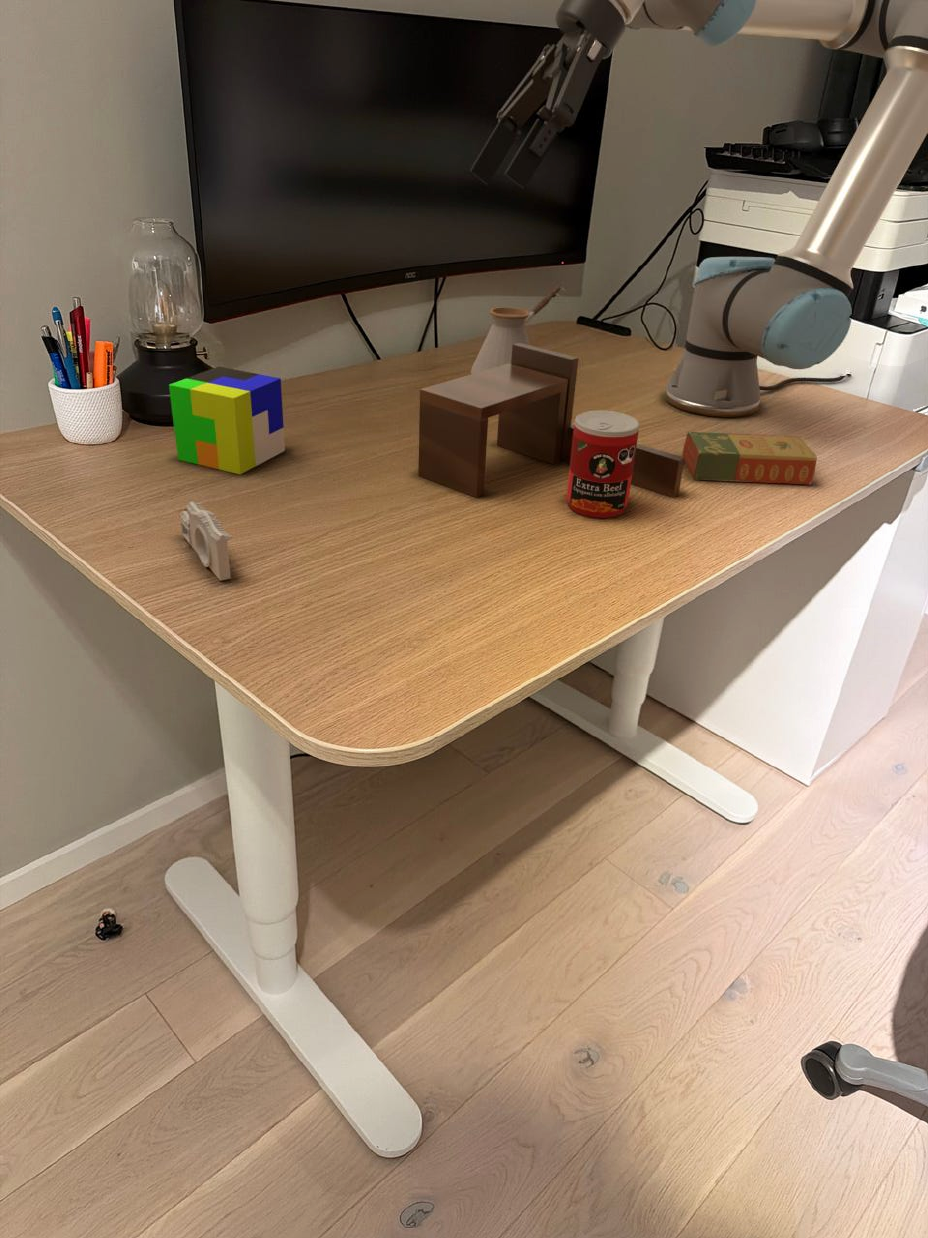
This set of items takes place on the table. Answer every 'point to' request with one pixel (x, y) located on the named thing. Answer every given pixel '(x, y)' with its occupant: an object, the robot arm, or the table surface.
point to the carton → (749, 458)
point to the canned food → (601, 463)
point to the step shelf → (515, 423)
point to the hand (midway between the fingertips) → (495, 179)
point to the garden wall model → (207, 539)
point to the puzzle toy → (228, 419)
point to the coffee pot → (507, 334)
